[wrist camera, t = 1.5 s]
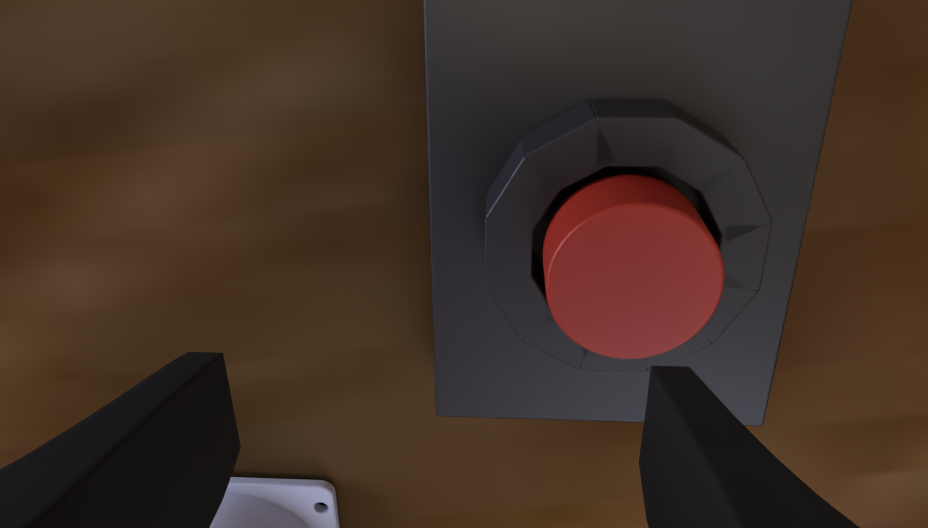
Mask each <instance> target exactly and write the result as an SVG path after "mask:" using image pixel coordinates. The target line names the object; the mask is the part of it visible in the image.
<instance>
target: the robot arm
mask: <svg viewBox="0 0 928 528" xmlns="http://www.w3.org/2000/svg"><path fill="white" fill-rule="evenodd" d="M240 448H241V446H240V441H239V436H238V431H237V425H236V420H235V415H234V409H233V404H232V399H231V394H230V388H229V383H228V378H227V372H226V367H225V362H224V357H223V353H207V352H187V353H186V354H184V355H182V356H180V357H178V358H177V359H175V360H174V361H172V362H170V363H169V364H167V365H166V366H164V367H163V368H161V369H160V370H158V371H157V372H155V373H154V374H152V375H151V376H149V377H148V378H146V379H145V380H143V381H142V382H140V383H139V384H137V385H136V386H134V387H133V388H131V389H130V390H128V391H127V392H125V393H124V394H122V395H121V396H119V397H118V398H116V399H115V400H113V401H112V402H110V403H109V404H107V405H106V406H104V407H103V408H101V409H100V410H98V411H97V412H95V413H94V414H92V415H91V416H89V417H87V418H86V419H84V420H83V421H81V422H79V423H78V424H76V425H75V426H73V427H71V428H70V429H68V430H66V431H65V432H63V433H62V434H60V435H58V436H57V437H55V438H53V439H52V440H50V441H48V442H47V443H45V444H44V445H42V446H40V447H39V448H37V449H35V450H34V451H32V452H31V453H29V454H27V455H25V456H24V457H22V458H20V459H18V460H17V461H15V462H13V463H11V464H9V465H7V466H6V467H4V468H2V469H0V528H340V527H339V518H338V509H337V499H336V491H335V488H334V486H333V485H332V484H331V483H329V482H327V481H323V480H305V479H276V478H247V477H231V476H232V472H233V469H234V466H235V463H236V460H237V457H238V454H239V451H240ZM639 466H640V474H641V482H642V490H643V497H644V504H645V511H646V518H647V522H648V526H649V528H859V527H858V526H857V525H856V524H854V523H853V522H852V521H850V520H849V519H848V518H846V517H845V516H844V515H842V514H841V513H840V512H839V511H837V510H836V509H835V508H833V507H832V506H831V505H830V504H828V503H827V502H826V501H825V500H824V499H822V498H821V497H820V496H819V495H817V494H816V493H815V492H814V491H813V490H812V489H810V488H809V487H808V486H807V485H806V484H805V483H804V482H803V481H801V480H800V479H799V478H798V477H797V476H796V475H795V474H794V473H792V472H791V471H790V470H789V469H788V468H787V467H786V466H785V465H783V464H782V463H781V462H780V461H779V460H778V459H777V458H776V457H775V456H774V455H773V454H772V453H771V452H770V451H769V450H768V449H767V448H766V447H765V446H764V445H763V444H762V443H761V442H760V441H759V440H758V439H757V438H756V437H755V436H754V435H753V434H752V433H751V432H750V431H749V430H748V429H747V428H746V427H745V426H744V425H743V424H742V423H741V422H740V421H739V420H738V419H737V418H736V417H735V416H734V415H733V414H732V413H731V411H730V410H729V409H728V408H727V407H726V406H725V405H724V404H723V403H722V402H721V401H720V400H719V399H718V397H717V396H716V395H715V394H714V393H713V392H712V391H711V390H710V389H709V388H708V386H707V385H706V384H705V383H704V382H703V381H702V380H701V379H700V378H699V377H698V376H697V375H696V373H695V372H694V371H693V370H692V369H691V368H690V367H686V366H652V365H651V371H650V379H649V387H648V395H647V403H646V411H645V419H644V427H643V435H642V443H641V450H640V458H639ZM319 502H322V503H325V504H326V505H321V504H319Z"/></svg>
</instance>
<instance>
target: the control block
mask: <svg viewBox="0 0 928 528" xmlns="http://www.w3.org/2000/svg"><path fill="white" fill-rule="evenodd" d="M852 1H853V0H423V8H424V41H425V74H426V107H427V140H428V173H429V206H430V239H431V272H432V305H433V338H434V371H435V404H436V415H437V416H450V417H484V418H517V419H551V420H585V421H619V422H644V419H645V411H646V403H647V395H648V387H649V379H650V371H651V365H652V366H686V367H690V368H691V369H692V370H693V371H694V372H695V373H696V375H697V376H698V377H699V378H700V379H701V380H702V381H703V382H704V383H705V384H706V385H707V386H708V388H709V389H710V390H711V391H712V392H713V393H714V394H715V395H716V396H717V397H718V399H719V400H720V401H721V402H722V403H723V404H724V405H725V406H726V407H727V408H728V409H729V410H730V411H731V413H732V414H733V415H734V416H735V417H736V418H737V419H738V420H739V421H740V422H741V423H742V424H743V425H754V426H761V425H763V422H764V418H765V413H766V408H767V403H768V399H769V394H770V389H771V385H772V380H773V375H774V370H775V366H776V361H777V356H778V351H779V347H780V342H781V337H782V332H783V328H784V323H785V318H786V314H787V309H788V304H789V299H790V295H791V290H792V285H793V280H794V276H795V271H796V266H797V262H798V257H799V252H800V247H801V243H802V238H803V233H804V228H805V224H806V219H807V214H808V210H809V205H810V200H811V195H812V191H813V186H814V181H815V176H816V172H817V167H818V162H819V157H820V153H821V148H822V143H823V139H824V134H825V129H826V124H827V120H828V115H829V110H830V105H831V101H832V96H833V91H834V87H835V82H836V77H837V72H838V68H839V63H840V58H841V53H842V49H843V44H844V39H845V34H846V30H847V25H848V20H849V16H850V11H851V6H852ZM619 174H638V175H645V176H650V177H653V178H656V179H659V180H662V181H664V182H666V183H668V184H670V185H672V186H673V187H675V188H676V189H678V190H679V191H680V192H681V193H683V194H684V195H685V196H686V197H687V198H688V199H689V201H690V202H691V203H692V204H693V206H694V207H695V209H696V210H697V212H698V214H699V215H700V217H701V219H702V220H703V222H704V223H705V225H706V227H707V228H708V230H709V231H710V233H711V235H712V236H713V238H714V240H715V241H716V243H717V245H718V247H719V250H720V252H721V255H722V259H723V264H724V275H725V276H724V286H723V290H722V295H721V298H720V300H719V303H718V305H717V308H716V310H715V311H714V313H713V315H712V317H711V318H710V319H709V321H708V322H707V323H706V325H705V326H704V327H703V328H702V329H701V330H700V331H699V332H698V333H697V334H696V335H694V336H693V337H692V338H691V339H690V340H688V341H687V342H685V343H683V344H682V345H680V346H678V347H676V348H674V349H672V350H670V351H668V352H665V353H662V354H660V355H656V356H652V357H647V358H640V359H619V358H612V357H607V356H603V355H600V354H597V353H594V352H592V351H590V350H587V349H585V348H584V347H582V346H581V345H579V344H577V343H576V342H575V341H573V340H572V339H571V338H570V337H568V336H567V335H566V333H565V332H564V331H563V330H562V329H561V328H560V327H559V325H558V324H557V322H556V321H555V319H554V317H553V315H552V313H551V311H550V308H549V305H548V302H547V296H546V288H545V278H544V267H543V251H542V248H543V240H544V236H545V232H546V229H547V226H548V224H549V222H550V220H551V218H552V216H553V215H554V213H555V211H556V210H557V209H558V208H559V206H560V205H561V204H562V203H563V202H564V201H565V200H566V199H567V198H568V197H569V196H570V195H571V194H573V193H574V192H575V191H576V190H578V189H580V188H581V187H583V186H585V185H586V184H588V183H591V182H593V181H595V180H598V179H601V178H604V177H608V176H613V175H619Z"/></svg>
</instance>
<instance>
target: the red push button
mask: <svg viewBox="0 0 928 528" xmlns="http://www.w3.org/2000/svg"><path fill="white" fill-rule="evenodd" d="M542 251H543V267H544V278H545V288H546V296H547V302H548V305H549V308H550V311H551V313H552V315H553V317H554V319H555V321H556V322H557V324H558V325H559V327H560V328H561V329H562V330H563V331H564V332H565V333H566V335H567V336H568V337H570V338H571V339H572V340H573V341H575V342H576V343H577V344H579V345H581V346H582V347H584V348H585V349H587V350H590V351H592V352H594V353H597V354H600V355H603V356H607V357H612V358H619V359H640V358H647V357H652V356H656V355H660V354H662V353H665V352H668V351H670V350H672V349H674V348H676V347H678V346H680V345H682V344H683V343H685V342H687V341H688V340H690V339H691V338H692V337H693V336H694V335H696V334H697V333H698V332H699V331H700V330H701V329H702V328H703V327H704V326H705V325H706V323H707V322H708V321H709V319H710V318H711V317H712V315H713V313H714V311H715V310H716V308H717V305H718V303H719V300H720V298H721V295H722V290H723V286H724V276H725V275H724V264H723V259H722V255H721V252H720V250H719V247H718V245H717V243H716V241H715V240H714V238H713V236H712V235H711V233H710V231H709V230H708V228H707V227H706V225H705V223H704V222H703V220H702V219H701V217H700V215H699V214H698V212H697V210H696V209H695V207H694V206H693V204H692V203H691V202H690V201H689V199H688V198H687V197H686V196H685V195H684V194H683V193H681V192H680V191H679V190H678V189H676V188H675V187H673V186H672V185H670V184H668V183H666V182H664V181H662V180H659V179H656V178H653V177H650V176H645V175H638V174H619V175H613V176H608V177H604V178H601V179H598V180H595V181H593V182H591V183H588V184H586V185H585V186H583V187H581V188H580V189H578V190H576V191H575V192H574V193H573V194H571V195H570V196H569V197H568V198H567V199H566V200H565V201H564V202H563V203H562V204H561V205H560V206H559V208H558V209H557V210H556V211H555V213H554V215H553V216H552V218H551V220H550V222H549V224H548V226H547V229H546V232H545V236H544V240H543V248H542Z"/></svg>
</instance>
